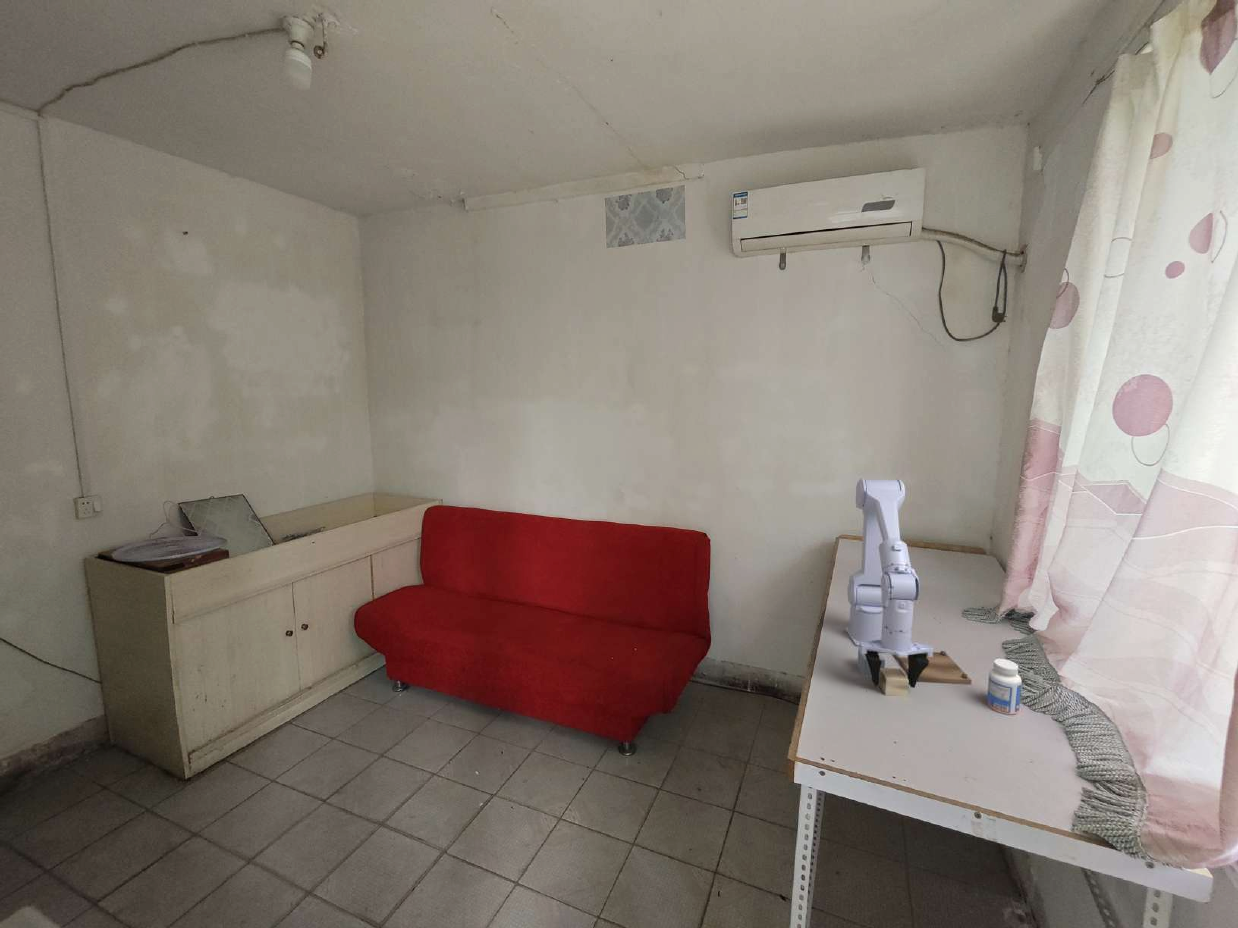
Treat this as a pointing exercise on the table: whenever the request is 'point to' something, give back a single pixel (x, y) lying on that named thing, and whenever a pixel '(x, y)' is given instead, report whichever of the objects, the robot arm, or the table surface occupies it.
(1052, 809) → the table surface
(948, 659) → the base plate
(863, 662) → the slate block
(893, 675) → the birch block
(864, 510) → the robot arm
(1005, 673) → the pill bottle
